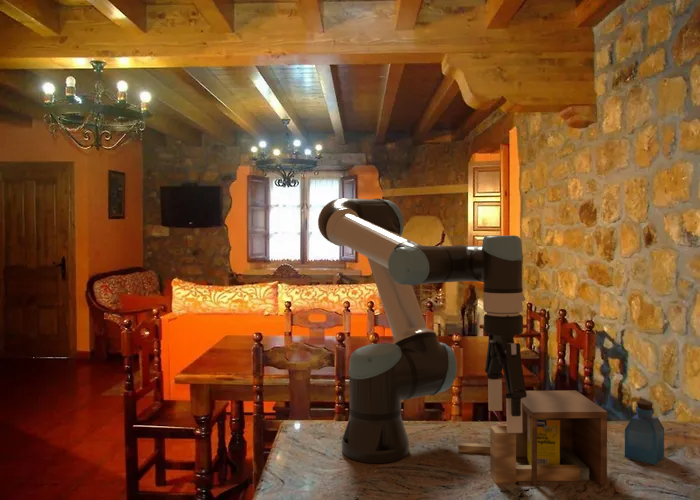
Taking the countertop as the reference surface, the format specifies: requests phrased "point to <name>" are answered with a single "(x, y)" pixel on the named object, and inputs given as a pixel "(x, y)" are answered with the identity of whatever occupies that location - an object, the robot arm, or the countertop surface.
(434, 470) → the countertop surface
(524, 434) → the walnut box
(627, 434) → the perfume bottle
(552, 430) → the supplement box
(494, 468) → the oak crook
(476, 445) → the plain oak stick
